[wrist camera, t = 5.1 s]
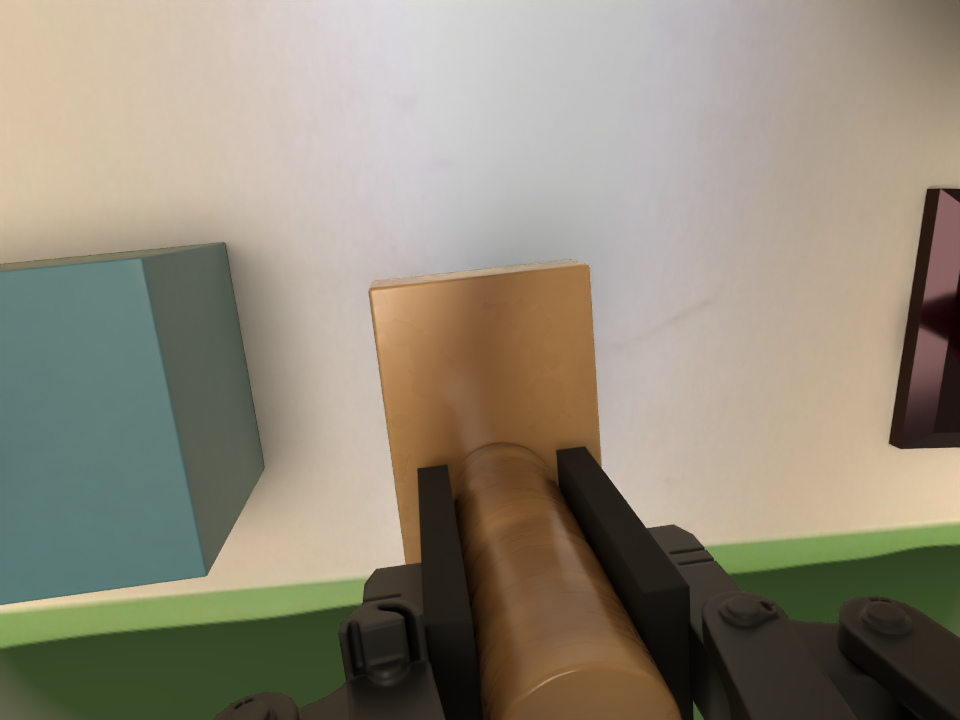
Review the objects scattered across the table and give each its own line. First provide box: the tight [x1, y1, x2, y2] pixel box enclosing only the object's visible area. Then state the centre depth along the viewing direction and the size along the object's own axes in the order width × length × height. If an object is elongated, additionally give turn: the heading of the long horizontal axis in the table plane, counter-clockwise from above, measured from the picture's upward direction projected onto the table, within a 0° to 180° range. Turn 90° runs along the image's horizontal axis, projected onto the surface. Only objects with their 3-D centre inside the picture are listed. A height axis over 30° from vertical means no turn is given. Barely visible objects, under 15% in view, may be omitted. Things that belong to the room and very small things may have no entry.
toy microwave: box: [0, 242, 264, 605], centre depth 29 cm, size 18×13×11 cm
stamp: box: [369, 259, 682, 720], centre depth 15 cm, size 6×12×12 cm, turn 6°
